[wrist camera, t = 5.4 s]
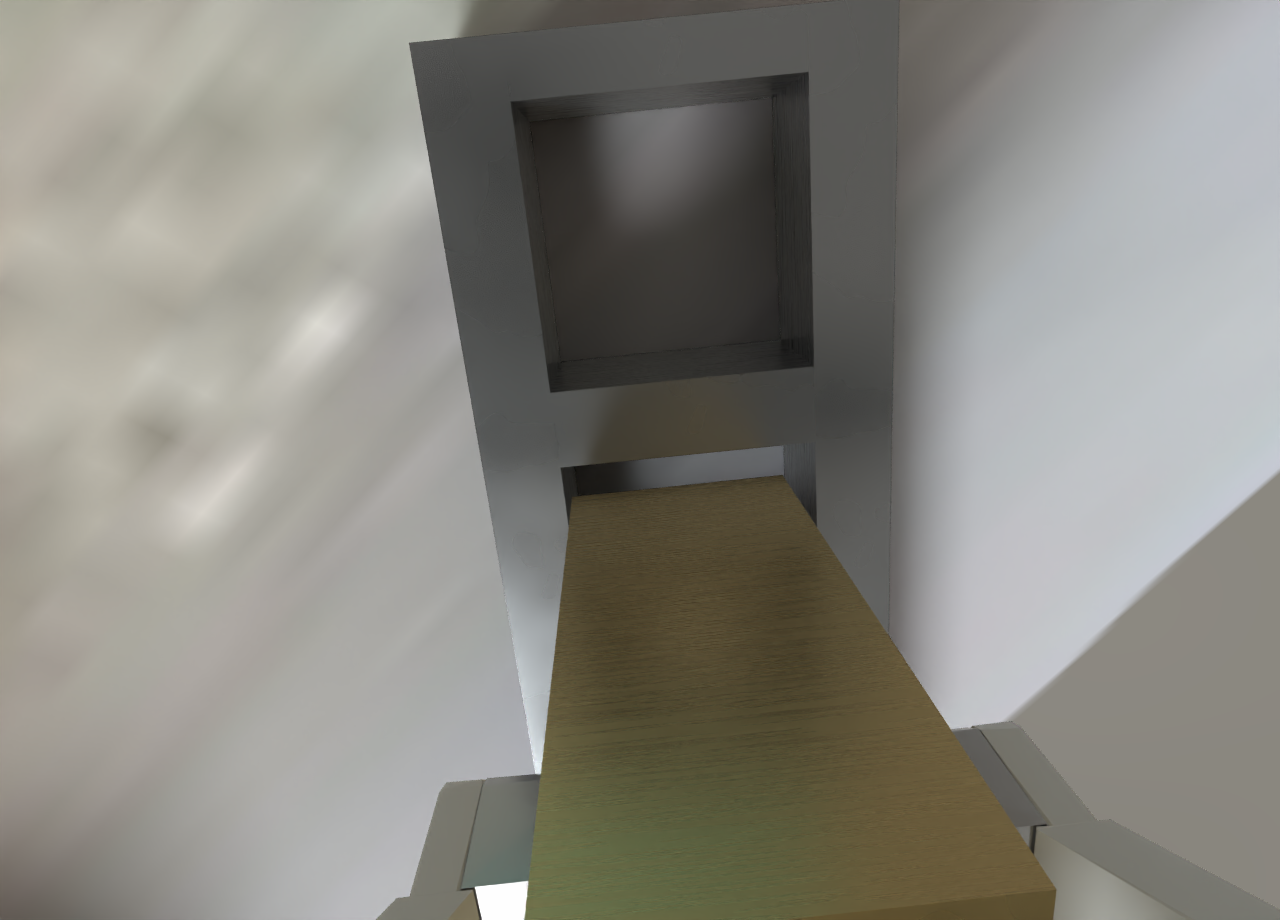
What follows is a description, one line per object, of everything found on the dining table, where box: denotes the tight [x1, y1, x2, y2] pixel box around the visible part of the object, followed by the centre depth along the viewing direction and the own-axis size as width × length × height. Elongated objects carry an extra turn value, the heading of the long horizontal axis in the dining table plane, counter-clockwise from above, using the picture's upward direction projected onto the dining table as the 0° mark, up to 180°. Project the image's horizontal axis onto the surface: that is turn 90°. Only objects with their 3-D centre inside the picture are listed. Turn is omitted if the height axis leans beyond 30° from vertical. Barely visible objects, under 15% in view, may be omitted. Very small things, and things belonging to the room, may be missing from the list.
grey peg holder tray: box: [409, 0, 899, 774], centre depth 17 cm, size 8×20×3 cm, turn 5°
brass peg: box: [524, 475, 1057, 920], centre depth 10 cm, size 4×4×9 cm
